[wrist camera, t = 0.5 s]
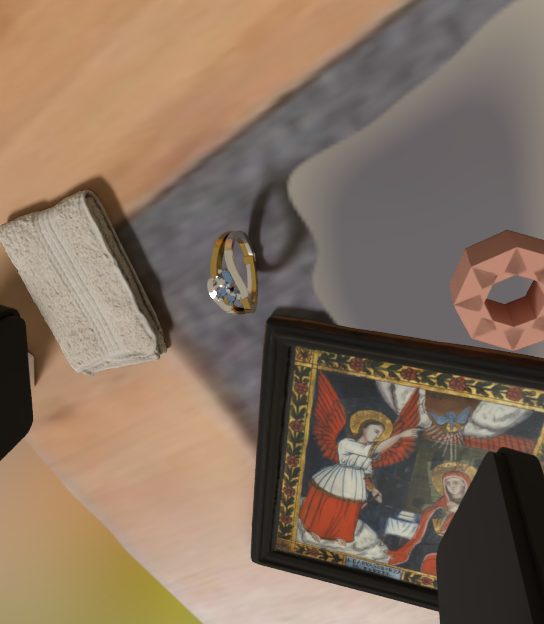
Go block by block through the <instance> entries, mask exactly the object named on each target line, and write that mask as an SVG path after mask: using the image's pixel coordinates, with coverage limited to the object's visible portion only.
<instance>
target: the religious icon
mask: <svg viewBox="0 0 544 624" xmlns="http://www.w3.org/2000/svg"><path fill="white" fill-rule="evenodd" d="M501 447H507V448H510V449H514V450H517V451H521V452H524V453H528V454H531V455H535V456H536V457H537V458H538V460H539V462H540V464H541V467H542V470H543V473H544V358H539V357H534V356H529V355H523V354H516V353H511V352H505V351H499V350H492V349H486V348H479V347H473V346H466V345H459V344H452V343H444V342H436V341H431V340H425V339H420V338H413V337H407V336H401V335H395V334H389V333H383V332H377V331H369V330H363V329H356V328H350V327H345V326H340V325H333V324H328V323H324V322H319V321H313V320H307V319H299V318H291V317H284V316H276V315H273V316H271V317H269V318H268V320H267V321H266V325H265V337H264V347H263V361H262V375H261V390H260V404H259V421H258V436H257V452H256V469H255V485H254V501H253V519H252V539H251V559H252V561H253V562H254V563H257V564H260V565H263V566H267V567H271V568H274V569H278V570H282V571H286V572H290V573H294V574H298V575H302V576H306V577H310V578H314V579H318V580H321V581H325V582H329V583H333V584H337V585H340V586H344V587H348V588H352V589H356V590H359V591H363V592H367V593H371V594H375V595H379V596H382V597H386V598H390V599H394V600H397V601H401V602H405V603H409V604H412V605H416V606H419V607H423V608H427V609H431V610H434V611H438V612H439V601H438V587H437V573H436V555H437V550H438V546H439V544H440V542H441V540H442V538H443V536H444V534H445V532H446V530H447V528H448V526H449V524H450V522H451V520H452V518H453V516H454V514H455V513H456V511H457V509H458V507H459V505H460V503H461V501H462V499H463V497H464V495H465V493H466V491H467V489H468V487H469V486H470V484H471V482H472V480H473V478H474V476H475V474H476V472H477V470H478V468H479V466H480V464H481V462H482V460H483V458H484V457H485V455H486V453H488V452H489V451H491V452H495V453H496V452H497V451H498V449H500V448H501Z"/></svg>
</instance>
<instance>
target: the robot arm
mask: <svg viewBox="0 0 544 624" xmlns="http://www.w3.org/2000/svg"><path fill="white" fill-rule="evenodd" d="M32 422H33V410H32V397H31V385H30V373H29V360H28V348H27V336H26V325H25V321H24V320H23V319H22V318H20V314H19V313H18V311H17V310H15V309H13V308H10V307H6V306H3V305H0V461H1V459H3V458H4V457H5V456H6V454H7V453H8V452H10V451H11V450H12V449H13V448H14V447H15V446H16V445H17V443H18V442H20V441H21V439H22V438H24V437H25V435H26V434H27V433H28V432H29V430H30V428H31V426H32ZM436 573H437V587H438V601H439V615H440V624H544V473H543V470H542V467H541V464H540V462H539V460H538V458H537V457H536V456H535V455H531V454H528V453H524V452H521V451H517V450H514V449H510V448H507V447H501V448H500V449H498V451H497V452H496V453H495V452H491V451H489V452H488V453H486V455H485V457H484V458H483V460H482V462H481V464H480V466H479V468H478V470H477V472H476V474H475V476H474V478H473V480H472V482H471V484H470V486H469V487H468V489H467V491H466V493H465V495H464V497H463V499H462V501H461V503H460V505H459V507H458V509H457V511H456V513H455V514H454V516H453V518H452V520H451V522H450V524H449V526H448V528H447V530H446V532H445V534H444V536H443V538H442V540H441V542H440V544H439V546H438V550H437V555H436Z"/></svg>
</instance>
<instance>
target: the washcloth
mask: <svg viewBox="0 0 544 624" xmlns="http://www.w3.org/2000/svg"><path fill="white" fill-rule="evenodd" d="M0 242H1V243H2V244H3V246H4V248H5V251H6V252H7V254H8V256H9V257H10V260H11V261H12V263H13V265H15V267H16V268H17V269H18V274H19V275H20V276H21V279H22V280H23V282H24V283H25V285H26V288H27V289H28V291H29V293H30V295H31V297H32V299H33V301H34V303H35V304H36V305H37V306H38V309H39V310H40V313H41V315H42V316H43V317H44V320H45V322H46V323H47V324H48V326H49V328H50V329H51V330H52V332H53V335H54V336H55V338H56V340H57V341H58V343H59V344H60V347H61V349H62V351H63V353H64V355H65V357H66V359H67V360H68V361H69V362H70V365H71V367H72V368H73V369H74V370H75V371H76V372H80V371H81V372H82V373H84V374H86V375H89V376H91V375H94V374H96V373H97V372H98V371H102V370H106V369H111V368H117V367H122V366H127V365H133V364H138V363H142V362H147V361H152V360H158V359H159V358H160V355H162V354H165V353H166V352H167V347H166V343H165V342H164V341H163V340H164V338H163V330H162V328H161V327H160V323H159V322H158V318H157V316H156V313H155V311H154V309H153V307H152V305H151V303H150V301H149V299H148V297H147V295H146V293H145V291H144V289H143V287H142V285H141V282H140V280H139V278H138V276H137V274H136V272H135V270H134V268H133V266H132V264H131V262H130V260H129V258H128V256H127V254H126V252H125V250H124V248H123V246H122V244H121V243H120V241H119V239H118V237H117V234H116V232H115V230H114V228H113V226H112V224H111V222H110V220H109V218H108V216H107V214H106V212H105V210H104V207H103V206H102V204H101V202H100V200H99V199H98V197H97V196H96V195H95V194H94V193H93V192H92V191H90V190H87V189H86V190H84V191H78V192H77V193H75V194H73V195H72V196H68V197H67V198H64V199H63V200H62V201H61V202H59V203H58V204H56V205H55V206H54V207H51V208H48V209H45V210H43V211H40V212H39V211H35V212H32V213H29V214H26V215H24V216H20V217H18V218H16V219H14V220H13V221H10V222H7V223H5V224H2V225H1V226H0Z"/></svg>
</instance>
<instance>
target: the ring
mask: <svg viewBox="0 0 544 624" xmlns="http://www.w3.org/2000/svg"><path fill="white" fill-rule="evenodd" d="M235 241H237V242H238V243H239V244H240V246H241V248H242V250H243V253H244V263H245V265H246V266H247V276H248V287H247V289H246V286H245V284H244V282H243V280H242V279H241V277H240V275H239V273H238V271H237V268H236V266H235V263H234V259H233V247H234V243H235ZM223 254H225V260H226V264H227V267H228V269H229V270H227V268H222V259H223ZM256 261H257V259H256V254H255V253H254V250H253V247H252V244H251V241H250V239H249V237H248V236H247V235H246V233H244V232H243V231H228V232H225V233H224V234H222V235H221V236H220V237H219V239H218V240H217V242H216V244H215V247H214V250H213V254H212V259H211V278H210V279H209V281H208V284H207V287H208V291H209V294H210V296H211V297H212V298H213V300H214V301H215V302H216V303H217V304H218V305H219V306H220V307H221V308H222V309H224V310H225V311H226V312H228V313H229V314H232V315H241V314H246V313H254V312H255V311H256V307H257V299H258V277H257V267H256ZM216 283H217V285H216ZM235 283H236V285H237V286H238V288H239V290H238V289H237V286H236V285H235ZM219 287H221V289H220V290H218V288H219ZM229 292H230V293H229ZM228 293H229V301H228V300H227V299H226V298H225V297H224V295H227V294H228ZM236 299H238V300H239V301H241V302H242V304H243V305H242V306H240V307H237V306H235V305H233V304H234V301H235V300H236Z"/></svg>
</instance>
